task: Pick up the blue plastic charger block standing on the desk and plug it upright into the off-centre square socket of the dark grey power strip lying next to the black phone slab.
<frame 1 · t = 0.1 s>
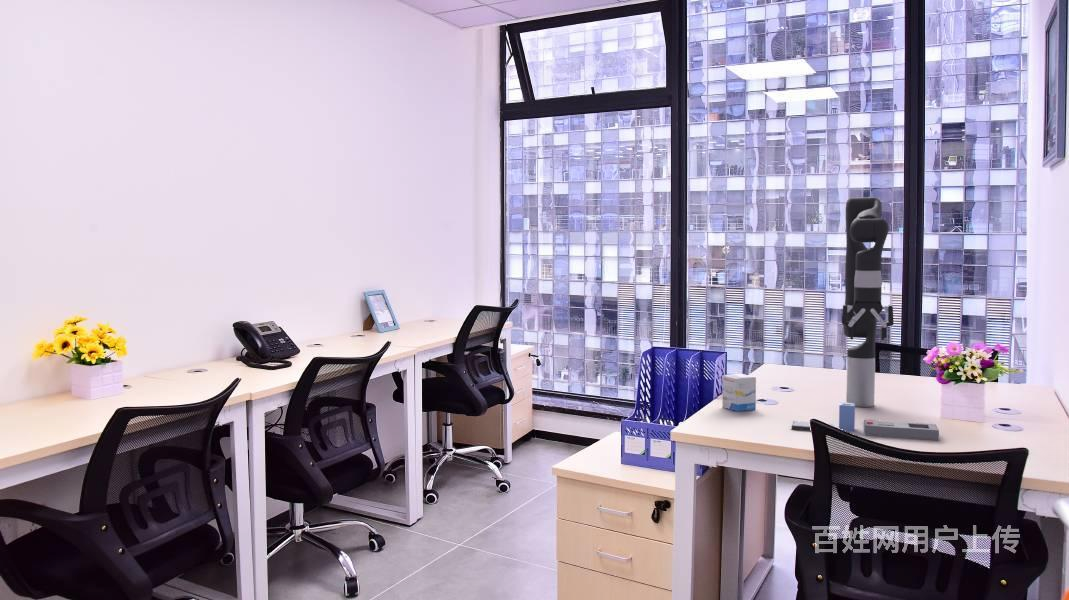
hand: (866, 339, 235), 29 cm above the table, fingers open, 8 cm apart
charger block: (846, 429, 243), on the table
power strip: (900, 434, 236), on the table
ink box: (738, 409, 276), on the table
phone slab: (812, 428, 245), on the table
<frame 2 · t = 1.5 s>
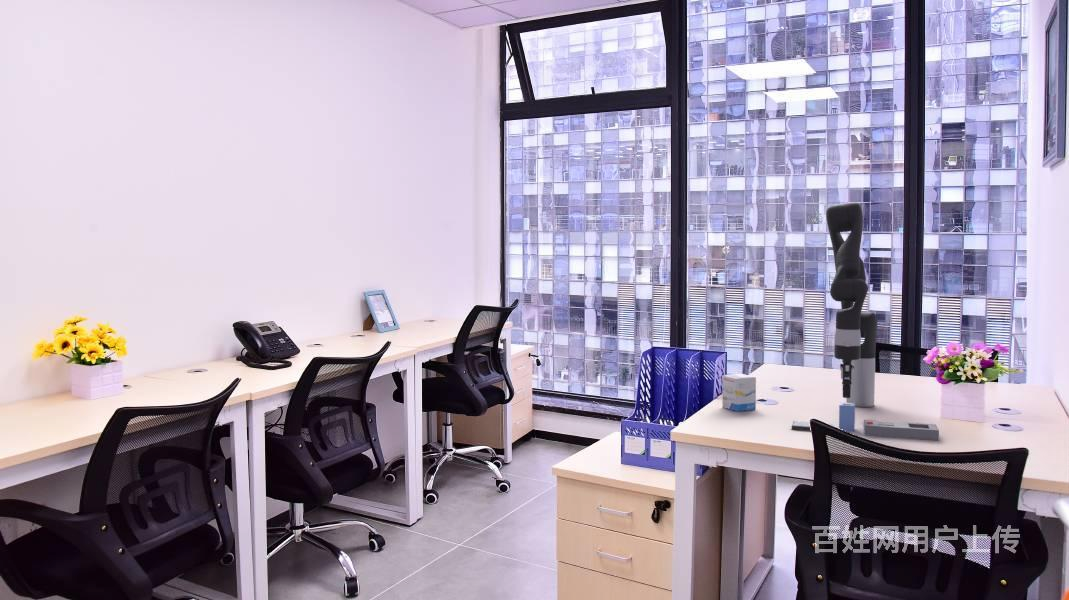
hand: (846, 395, 243), 11 cm above the table, fingers open, 8 cm apart
nothing on the table moved.
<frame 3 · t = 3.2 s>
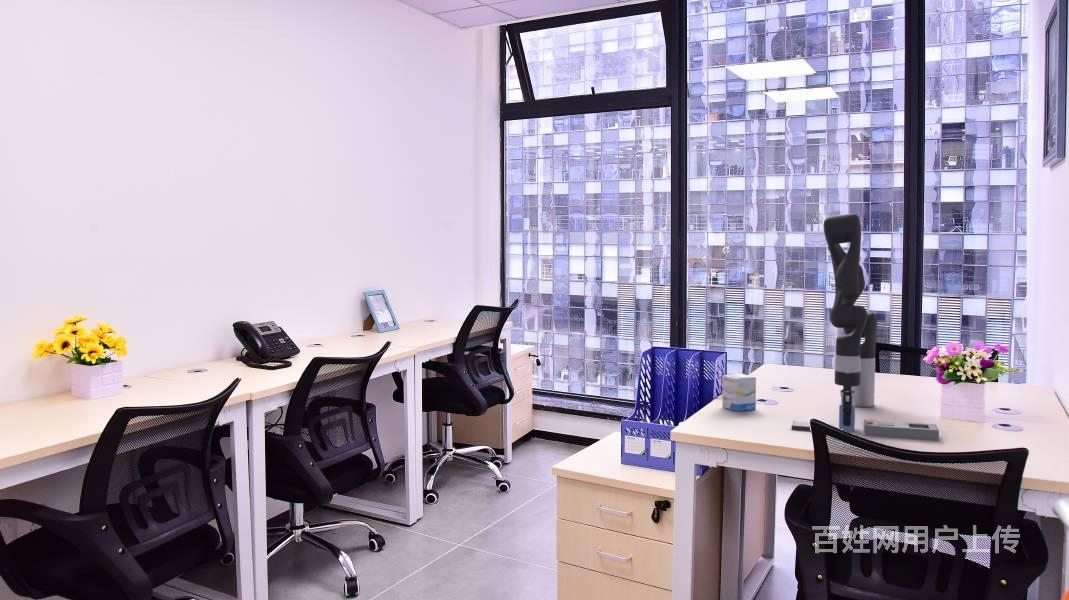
hand: (846, 423, 243), 2 cm above the table, fingers closed on charger block, 4 cm apart
charger block: (846, 429, 243), on the table, touching gripper
everything else where it was.
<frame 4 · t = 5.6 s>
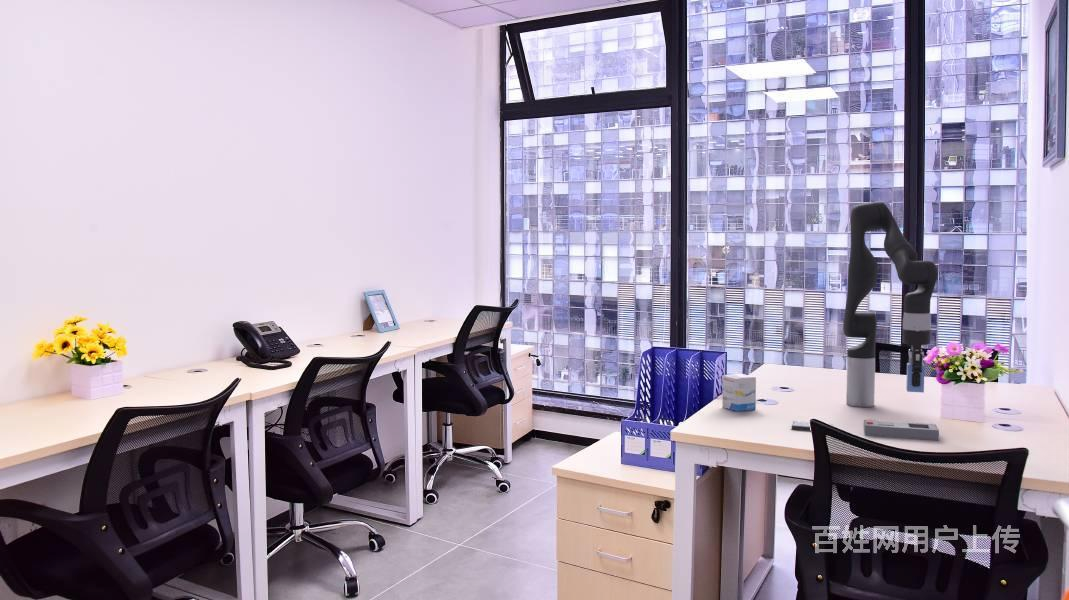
hand: (915, 384, 233), 16 cm above the table, fingers closed on charger block, 4 cm apart
charger block: (915, 390, 234), point 14 cm above the table, touching gripper
everything else where it was.
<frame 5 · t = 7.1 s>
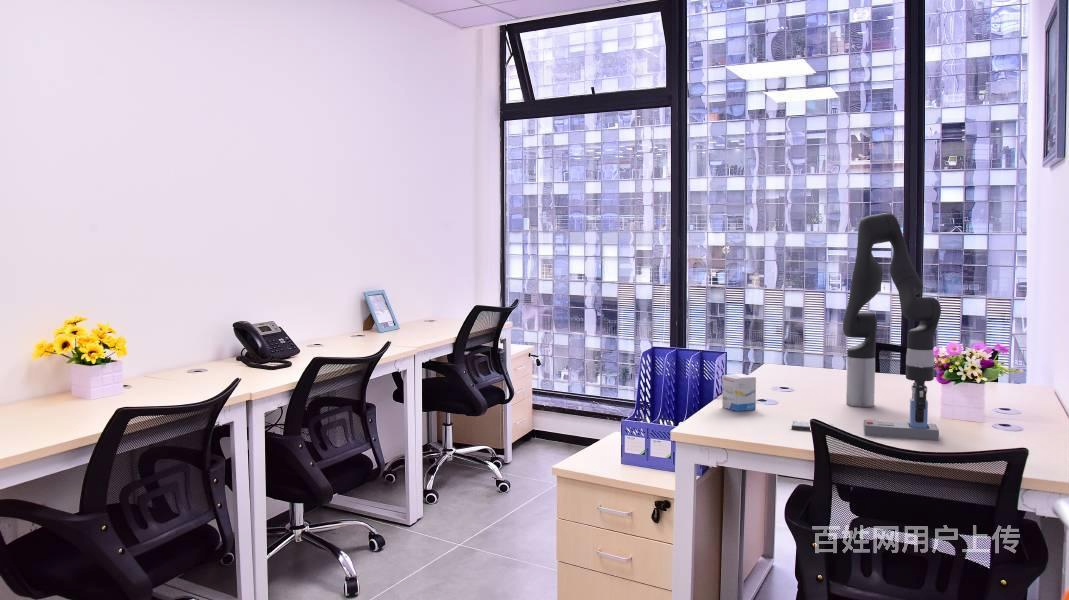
hand: (918, 420, 234), 5 cm above the table, fingers closed on charger block, 4 cm apart
charger block: (918, 426, 234), point 3 cm above the table, touching gripper
everything else where it was.
when the fingers open (4 cm above the table, at t = 8.1 s): charger block drops 2 cm, resting in power strip.
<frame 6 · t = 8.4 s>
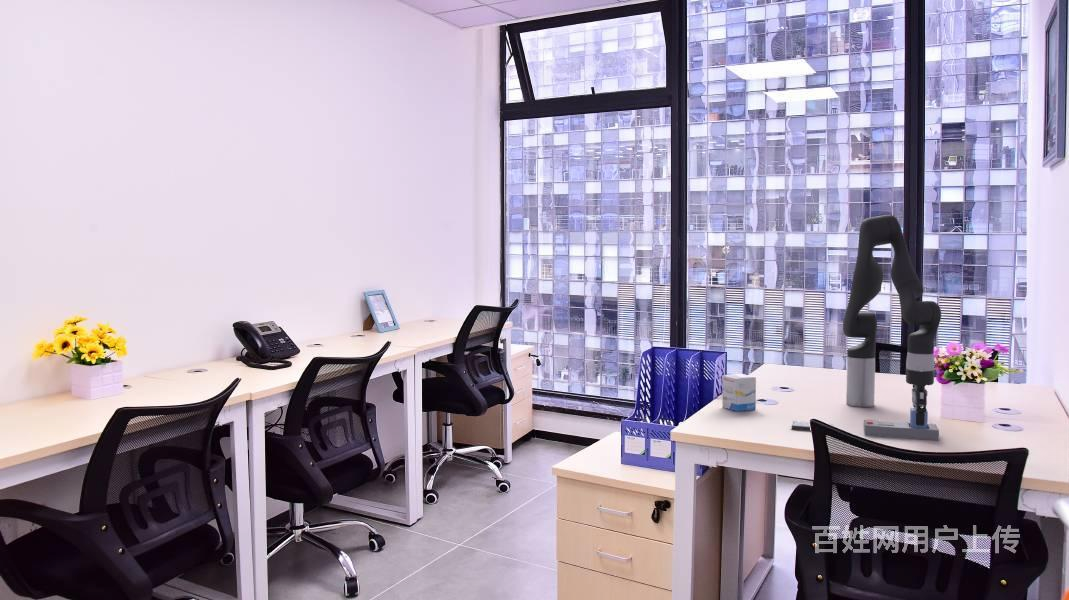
hand: (918, 422, 234), 4 cm above the table, fingers open, 7 cm apart
charger block: (918, 435, 235), resting in power strip
everything else where it was.
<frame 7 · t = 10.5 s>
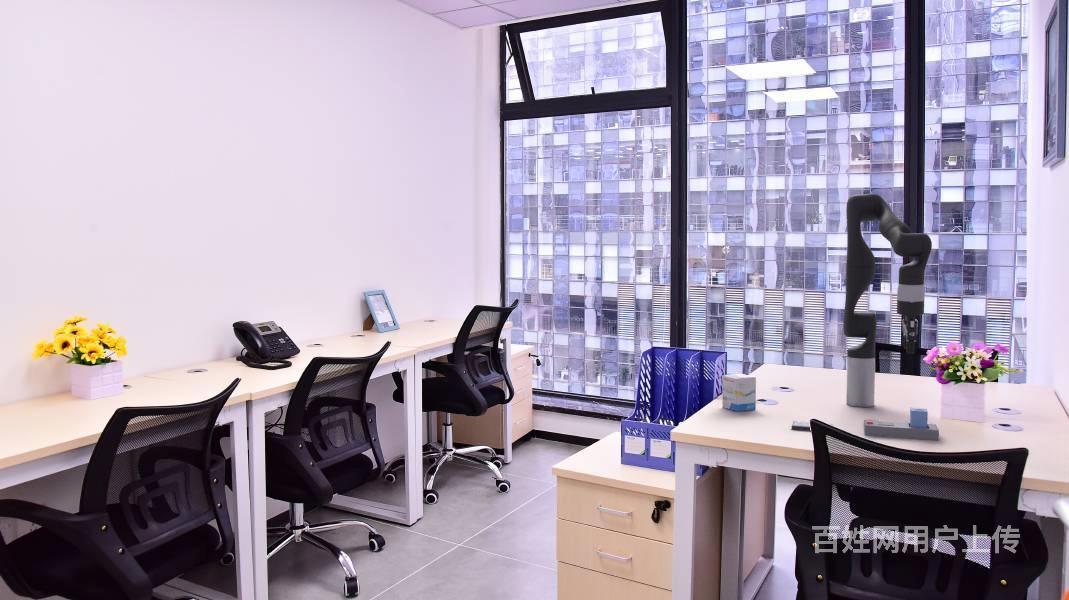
hand: (909, 351, 240), 24 cm above the table, fingers open, 8 cm apart
nothing on the table moved.
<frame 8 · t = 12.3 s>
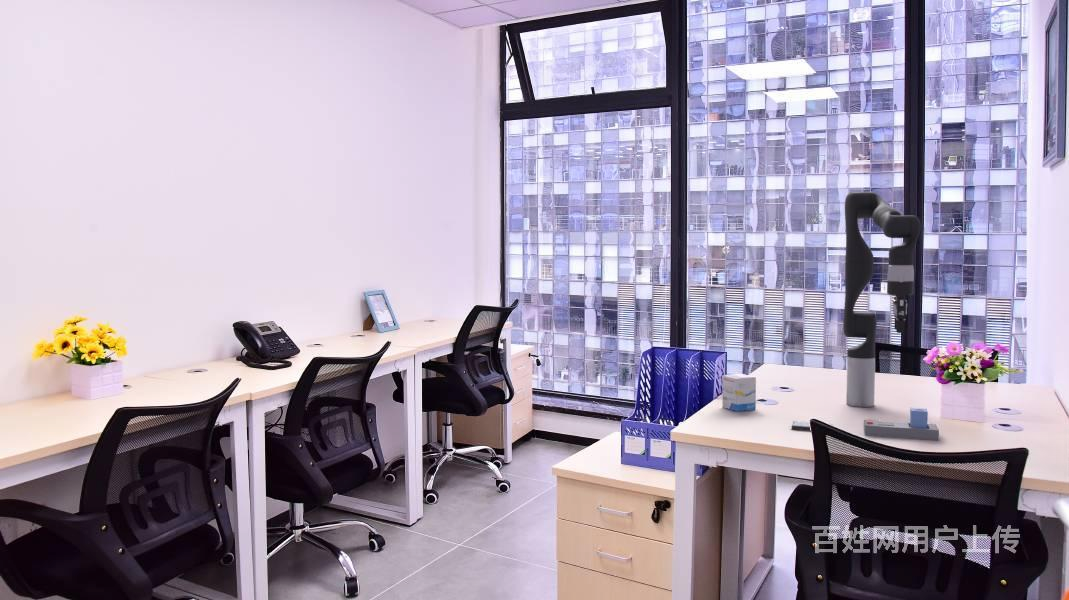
hand: (899, 331, 245), 30 cm above the table, fingers open, 8 cm apart
nothing on the table moved.
at the end: charger block 0.1 cm from the target spot on the power strip, point 0.0 cm above the power strip's base; charger block tilted 0°; the gripper is holding nothing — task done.
